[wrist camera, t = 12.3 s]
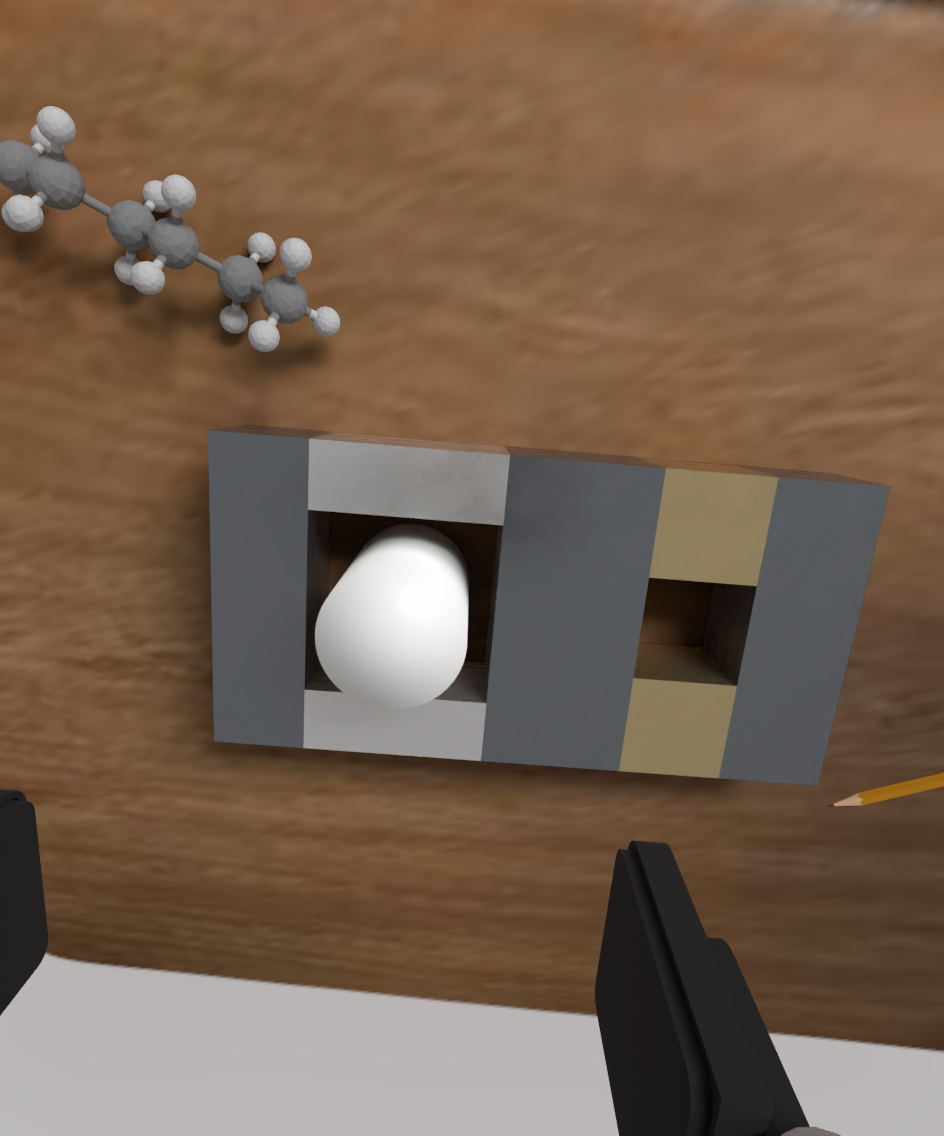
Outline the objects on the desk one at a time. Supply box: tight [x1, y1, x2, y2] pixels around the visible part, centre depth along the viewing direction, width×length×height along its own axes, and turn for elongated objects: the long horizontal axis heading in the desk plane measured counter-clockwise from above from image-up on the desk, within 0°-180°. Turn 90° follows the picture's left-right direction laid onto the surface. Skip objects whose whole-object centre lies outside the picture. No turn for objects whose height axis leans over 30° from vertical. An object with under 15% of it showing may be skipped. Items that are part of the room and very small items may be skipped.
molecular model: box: [0, 106, 340, 352], centre depth 23 cm, size 14×4×5 cm, turn 64°
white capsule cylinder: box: [315, 524, 469, 710], centre depth 25 cm, size 5×5×7 cm
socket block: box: [208, 425, 890, 786], centre depth 27 cm, size 12×24×4 cm, turn 85°
